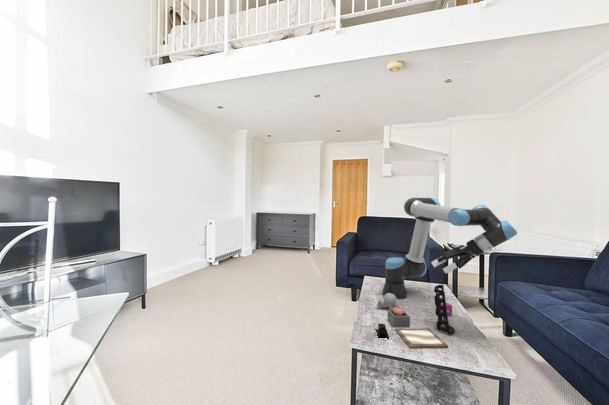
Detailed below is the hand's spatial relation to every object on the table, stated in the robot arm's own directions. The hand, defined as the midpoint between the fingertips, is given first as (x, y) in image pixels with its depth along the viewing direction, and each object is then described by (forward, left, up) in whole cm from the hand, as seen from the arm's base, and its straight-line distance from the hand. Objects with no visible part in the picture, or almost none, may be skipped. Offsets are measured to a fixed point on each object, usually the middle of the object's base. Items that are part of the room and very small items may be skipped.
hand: (438, 268), depth 132 cm
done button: (+1, -20, -23) cm, 31 cm away
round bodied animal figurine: (-18, -19, -27) cm, 38 cm away
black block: (+11, -32, -28) cm, 44 cm away
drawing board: (+16, -17, -27) cm, 35 cm away
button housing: (+1, -20, -27) cm, 34 cm away
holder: (+8, -1, -27) cm, 28 cm away
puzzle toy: (-9, +9, -27) cm, 30 cm away
